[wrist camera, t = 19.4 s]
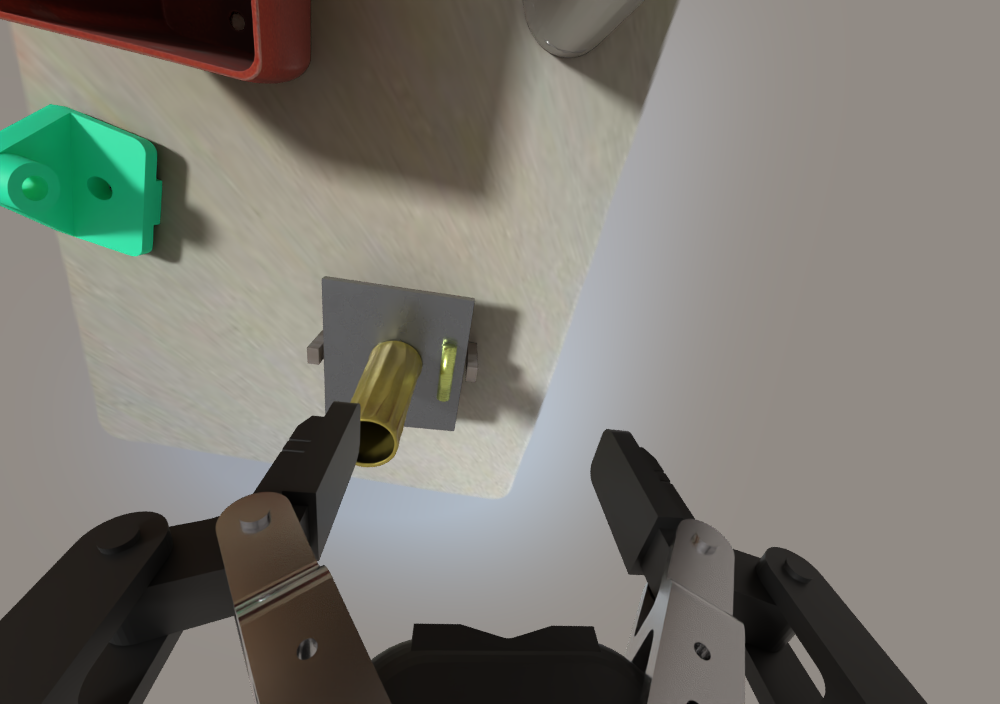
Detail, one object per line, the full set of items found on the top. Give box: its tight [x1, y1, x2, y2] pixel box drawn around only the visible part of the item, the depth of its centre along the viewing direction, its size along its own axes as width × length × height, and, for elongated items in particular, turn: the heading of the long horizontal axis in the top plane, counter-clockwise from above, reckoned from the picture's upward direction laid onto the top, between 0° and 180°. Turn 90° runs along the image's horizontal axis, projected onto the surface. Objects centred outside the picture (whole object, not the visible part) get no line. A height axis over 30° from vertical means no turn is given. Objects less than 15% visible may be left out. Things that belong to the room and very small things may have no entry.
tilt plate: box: [322, 276, 475, 431], centre depth 43 cm, size 18×16×3 cm
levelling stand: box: [307, 330, 478, 382], centre depth 46 cm, size 14×19×7 cm
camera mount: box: [0, 104, 162, 256], centre depth 35 cm, size 12×8×10 cm, turn 157°
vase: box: [350, 341, 422, 467], centre depth 37 cm, size 6×6×14 cm
